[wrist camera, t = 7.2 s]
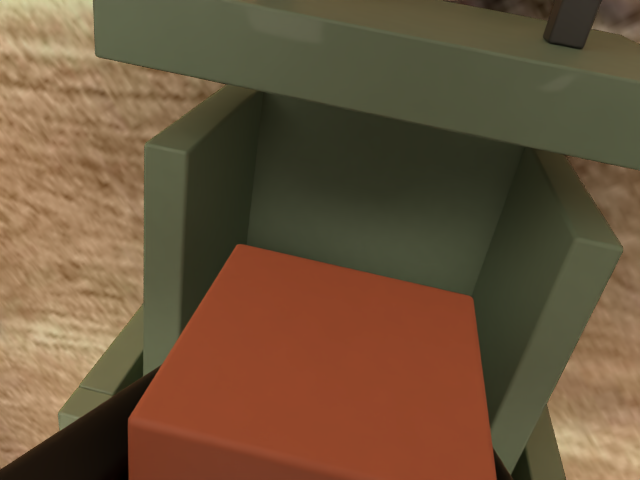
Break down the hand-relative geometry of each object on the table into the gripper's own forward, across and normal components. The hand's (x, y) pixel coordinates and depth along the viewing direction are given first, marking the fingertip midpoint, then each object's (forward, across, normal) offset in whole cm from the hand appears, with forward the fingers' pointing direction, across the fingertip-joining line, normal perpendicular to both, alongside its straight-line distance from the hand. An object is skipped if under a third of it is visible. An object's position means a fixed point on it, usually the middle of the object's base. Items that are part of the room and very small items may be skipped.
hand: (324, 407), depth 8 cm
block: (+1, 0, 0) cm, 1 cm away
